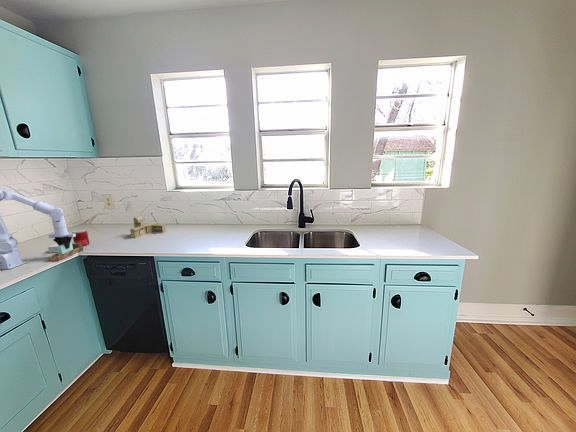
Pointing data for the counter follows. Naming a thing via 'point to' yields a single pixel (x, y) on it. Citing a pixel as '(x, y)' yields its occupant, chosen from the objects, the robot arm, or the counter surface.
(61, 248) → the door panel
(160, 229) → the toy kitchen set
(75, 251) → the track
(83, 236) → the canned food
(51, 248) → the skincare box
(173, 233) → the counter surface
